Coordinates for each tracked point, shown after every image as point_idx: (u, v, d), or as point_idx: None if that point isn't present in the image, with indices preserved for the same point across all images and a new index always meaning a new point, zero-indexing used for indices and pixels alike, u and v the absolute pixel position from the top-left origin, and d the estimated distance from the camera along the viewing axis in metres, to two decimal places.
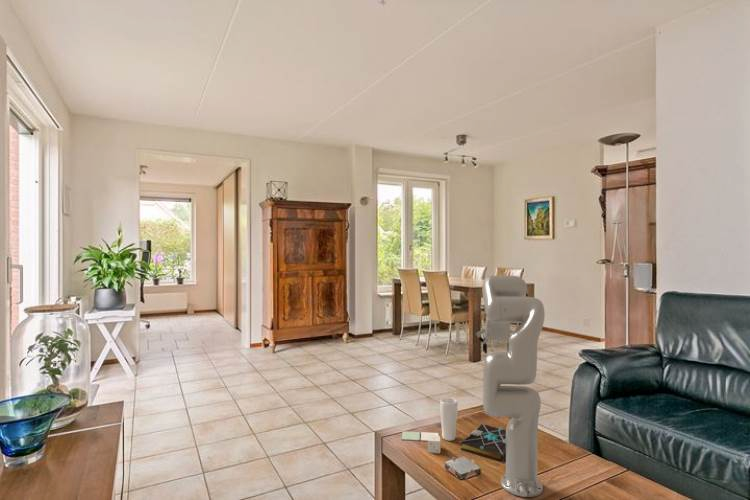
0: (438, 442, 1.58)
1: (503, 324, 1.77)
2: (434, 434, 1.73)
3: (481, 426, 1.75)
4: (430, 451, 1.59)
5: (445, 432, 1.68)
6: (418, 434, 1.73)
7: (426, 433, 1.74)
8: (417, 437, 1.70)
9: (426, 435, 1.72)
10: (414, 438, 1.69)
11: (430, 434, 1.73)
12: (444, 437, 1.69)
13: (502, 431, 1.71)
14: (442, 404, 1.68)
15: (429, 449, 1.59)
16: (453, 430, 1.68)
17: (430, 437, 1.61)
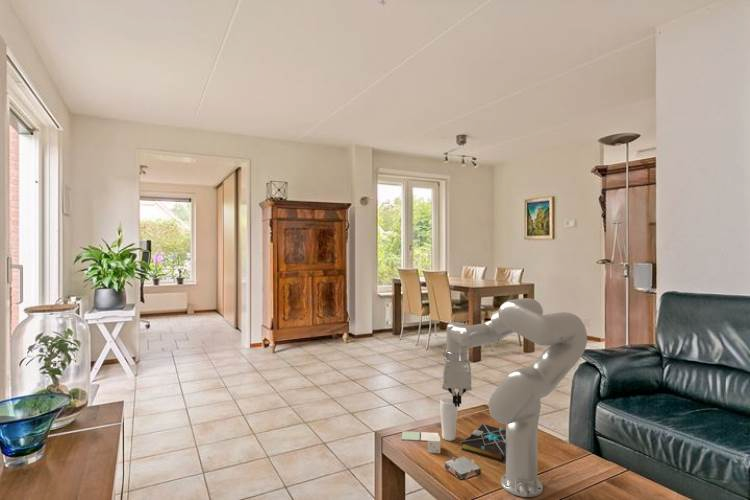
0: (438, 442, 1.58)
1: (463, 370, 1.56)
2: (434, 434, 1.73)
3: (482, 426, 1.75)
4: (430, 451, 1.59)
5: (445, 432, 1.68)
6: (418, 434, 1.73)
7: (426, 433, 1.74)
8: (417, 437, 1.70)
9: (426, 435, 1.72)
10: (414, 438, 1.69)
11: (430, 434, 1.73)
12: (444, 437, 1.69)
13: (503, 431, 1.70)
14: (442, 404, 1.68)
15: (429, 449, 1.59)
16: (453, 430, 1.68)
17: (430, 437, 1.61)
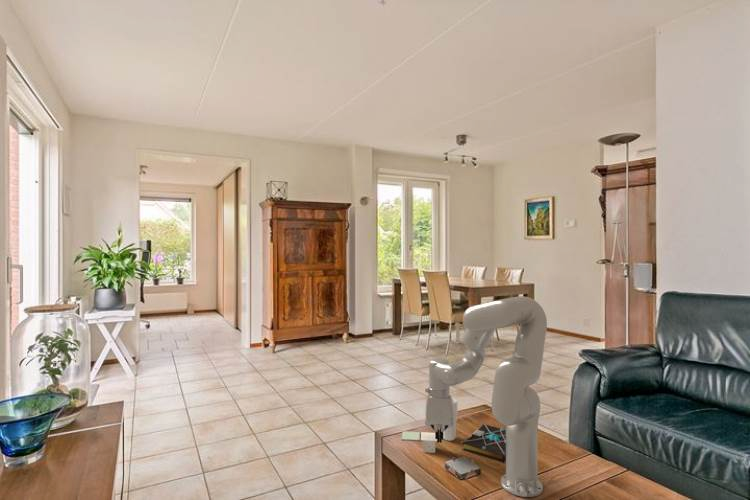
0: (433, 441, 1.58)
1: (445, 407, 1.57)
2: (434, 434, 1.73)
3: (483, 426, 1.75)
4: (425, 450, 1.59)
5: (445, 432, 1.68)
6: (418, 434, 1.73)
7: (426, 433, 1.74)
8: (417, 437, 1.70)
9: None
10: (414, 438, 1.69)
11: (430, 434, 1.73)
12: (444, 437, 1.69)
13: (504, 431, 1.70)
14: None
15: (424, 449, 1.59)
16: (453, 430, 1.68)
17: (425, 437, 1.61)
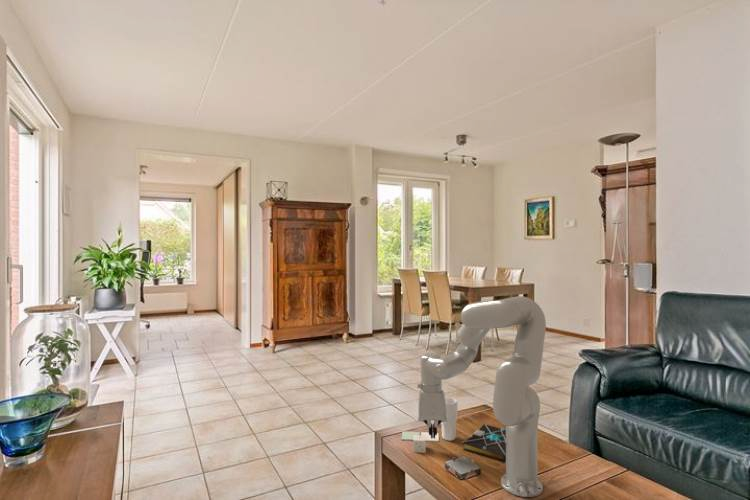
0: (423, 441, 1.59)
1: (437, 402, 1.57)
2: None
3: (483, 426, 1.74)
4: (415, 450, 1.59)
5: (445, 432, 1.68)
6: (418, 434, 1.73)
7: (426, 433, 1.74)
8: None
9: (426, 435, 1.72)
10: None
11: None
12: (444, 437, 1.69)
13: (504, 431, 1.70)
14: None
15: (415, 449, 1.59)
16: (453, 430, 1.68)
17: (416, 437, 1.62)
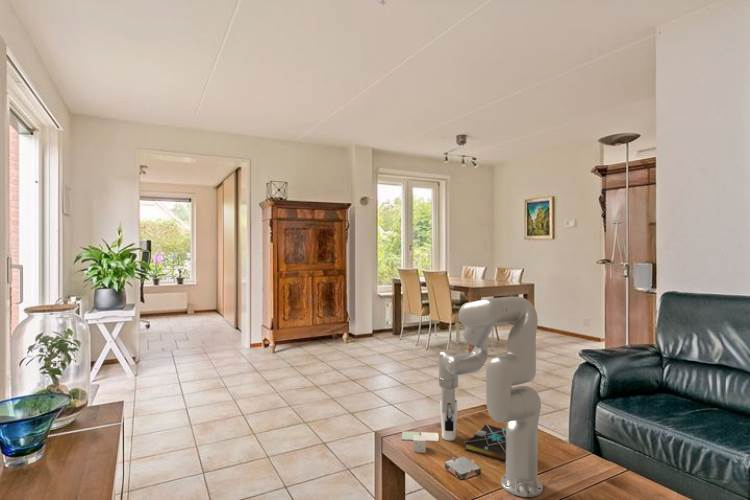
0: (423, 441, 1.59)
1: (441, 394, 1.69)
2: (434, 434, 1.73)
3: (485, 426, 1.74)
4: (415, 450, 1.59)
5: (445, 432, 1.68)
6: (418, 434, 1.73)
7: (426, 433, 1.74)
8: None
9: (426, 435, 1.72)
10: None
11: (430, 434, 1.73)
12: (444, 437, 1.69)
13: None
14: None
15: (415, 449, 1.59)
16: (453, 430, 1.68)
17: (416, 437, 1.62)
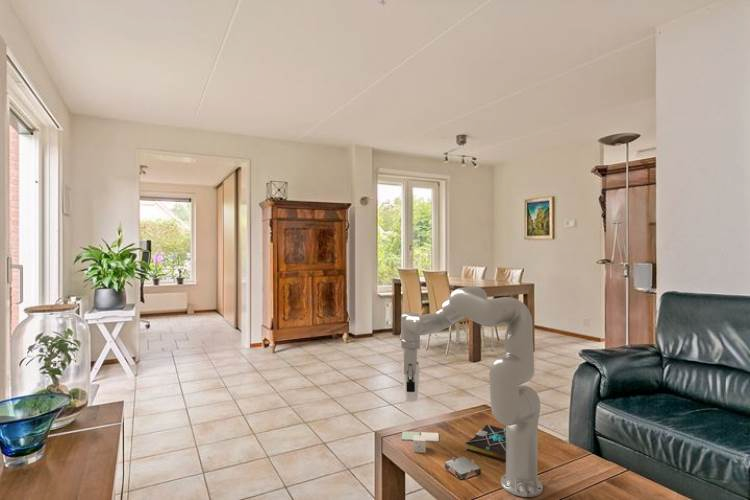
0: (423, 441, 1.59)
1: None
2: (434, 434, 1.73)
3: (486, 427, 1.74)
4: (415, 450, 1.59)
5: (407, 393, 1.70)
6: (418, 434, 1.73)
7: (426, 433, 1.74)
8: None
9: (426, 435, 1.72)
10: None
11: (430, 434, 1.73)
12: (406, 398, 1.70)
13: None
14: None
15: (415, 449, 1.59)
16: (415, 391, 1.69)
17: (416, 437, 1.62)
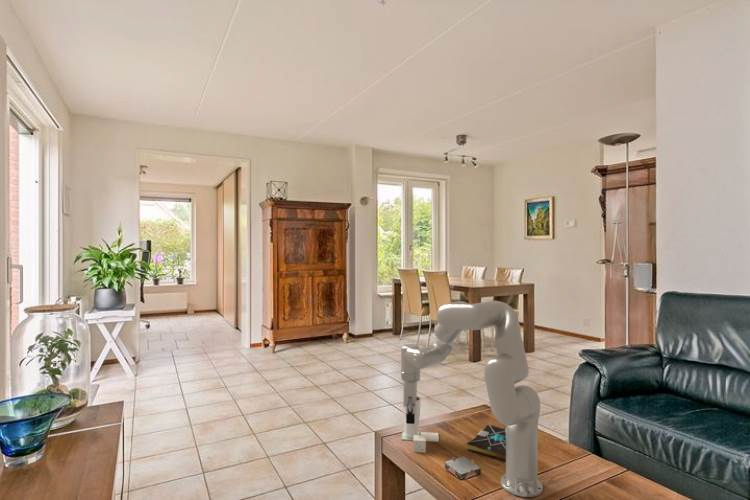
0: (423, 441, 1.59)
1: (403, 388, 1.70)
2: (434, 434, 1.73)
3: (487, 427, 1.74)
4: (415, 450, 1.59)
5: (408, 429, 1.70)
6: (418, 434, 1.73)
7: (426, 433, 1.74)
8: None
9: (426, 435, 1.72)
10: None
11: (430, 434, 1.73)
12: (406, 434, 1.70)
13: None
14: None
15: (415, 449, 1.59)
16: (415, 427, 1.70)
17: (416, 437, 1.62)
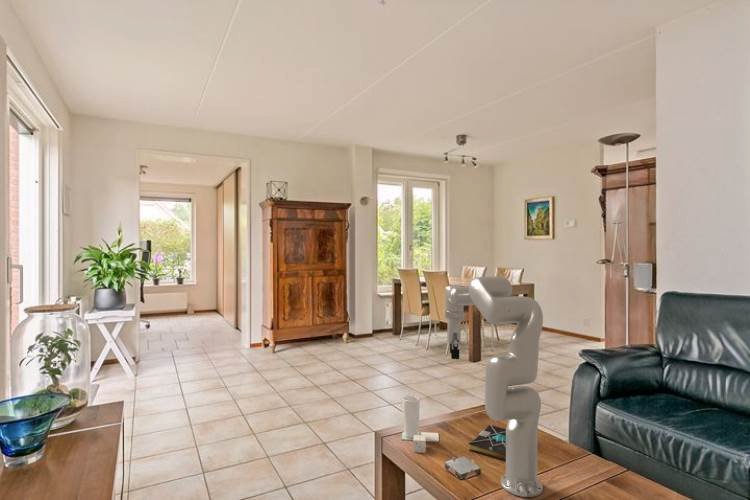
0: (423, 441, 1.59)
1: (448, 326, 1.78)
2: (434, 434, 1.73)
3: (489, 427, 1.74)
4: (415, 450, 1.59)
5: (407, 429, 1.70)
6: (418, 434, 1.73)
7: (426, 433, 1.74)
8: None
9: (426, 435, 1.72)
10: None
11: (430, 434, 1.73)
12: (406, 434, 1.70)
13: None
14: (404, 402, 1.70)
15: (415, 449, 1.59)
16: (415, 427, 1.70)
17: (416, 437, 1.62)
